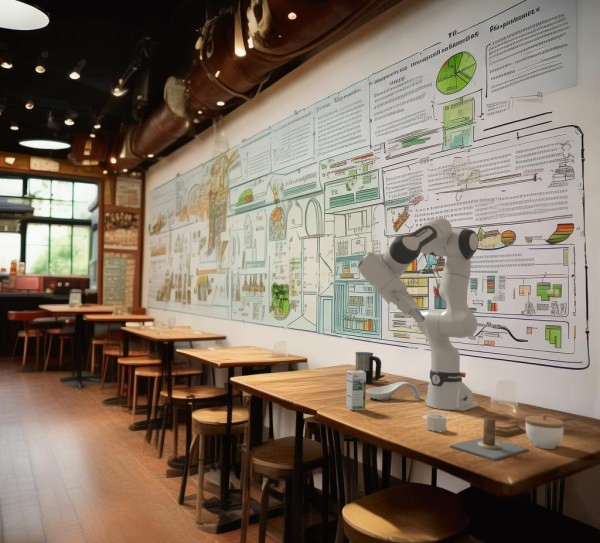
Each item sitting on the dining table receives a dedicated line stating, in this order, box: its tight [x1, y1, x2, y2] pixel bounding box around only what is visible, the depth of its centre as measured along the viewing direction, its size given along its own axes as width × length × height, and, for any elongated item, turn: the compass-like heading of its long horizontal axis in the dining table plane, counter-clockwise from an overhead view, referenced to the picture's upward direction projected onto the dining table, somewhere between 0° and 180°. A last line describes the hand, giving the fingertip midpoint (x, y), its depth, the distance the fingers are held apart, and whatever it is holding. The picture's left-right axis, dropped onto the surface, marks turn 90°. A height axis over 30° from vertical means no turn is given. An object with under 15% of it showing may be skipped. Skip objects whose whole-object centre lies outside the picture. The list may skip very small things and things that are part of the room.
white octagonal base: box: [425, 413, 447, 432], centre depth 172 cm, size 6×6×4 cm
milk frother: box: [354, 351, 386, 384], centre depth 266 cm, size 14×16×15 cm
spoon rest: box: [366, 381, 421, 401], centre depth 223 cm, size 24×12×7 cm, turn 106°
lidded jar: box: [524, 413, 565, 450], centre depth 158 cm, size 11×11×9 cm
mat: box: [449, 437, 529, 461], centre depth 152 cm, size 18×14×1 cm
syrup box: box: [345, 369, 367, 411], centre depth 199 cm, size 6×6×14 cm
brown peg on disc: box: [478, 417, 500, 450], centre depth 152 cm, size 6×6×8 cm
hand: (422, 321), depth 177 cm, fingers open, 8 cm apart
